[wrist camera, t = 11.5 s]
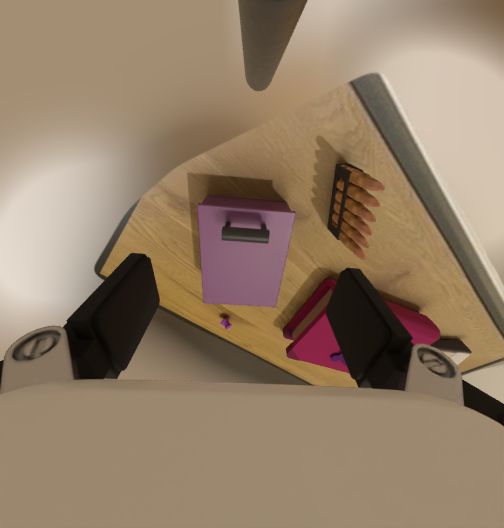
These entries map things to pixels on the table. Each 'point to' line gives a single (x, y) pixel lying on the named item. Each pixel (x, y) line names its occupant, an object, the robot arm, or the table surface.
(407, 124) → the table surface
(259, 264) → the lid
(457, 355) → the calculator
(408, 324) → the book
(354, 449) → the robot arm
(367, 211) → the ammunition clip
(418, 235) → the table surface
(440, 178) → the table surface
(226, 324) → the pushpin
